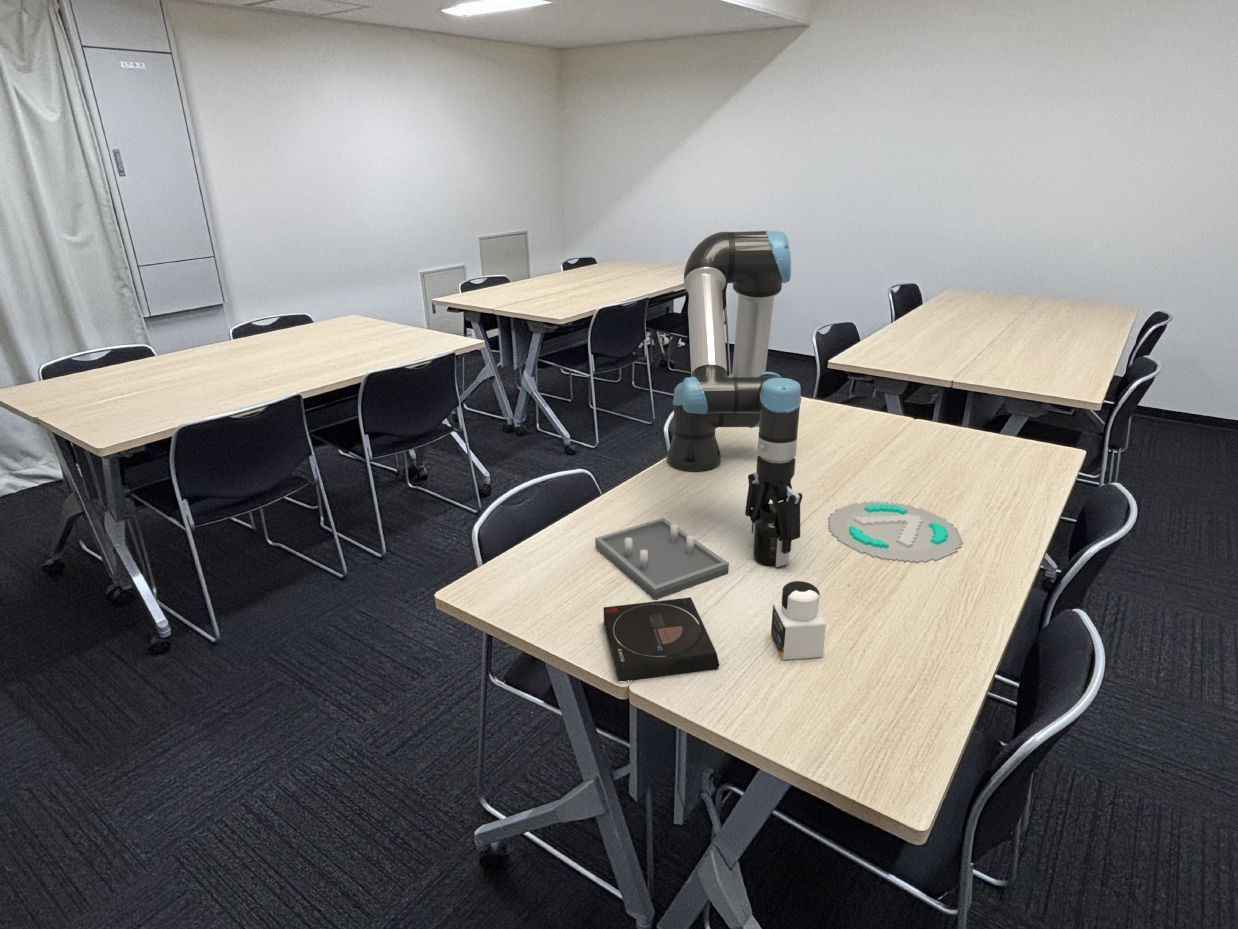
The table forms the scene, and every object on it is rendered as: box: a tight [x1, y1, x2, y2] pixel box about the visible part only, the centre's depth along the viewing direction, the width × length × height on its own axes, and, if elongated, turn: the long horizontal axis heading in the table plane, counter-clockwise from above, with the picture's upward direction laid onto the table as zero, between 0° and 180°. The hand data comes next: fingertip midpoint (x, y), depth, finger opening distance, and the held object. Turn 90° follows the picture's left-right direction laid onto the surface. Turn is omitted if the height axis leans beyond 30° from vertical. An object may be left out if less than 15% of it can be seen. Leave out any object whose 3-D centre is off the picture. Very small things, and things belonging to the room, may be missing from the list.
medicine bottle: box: [770, 580, 827, 661], centre depth 121 cm, size 7×7×12 cm
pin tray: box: [594, 517, 730, 601], centre depth 150 cm, size 24×18×6 cm
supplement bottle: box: [753, 503, 787, 567], centre depth 148 cm, size 7×7×12 cm
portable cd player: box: [602, 596, 721, 682], centre depth 124 cm, size 16×17×4 cm
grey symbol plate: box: [827, 500, 964, 564], centre depth 161 cm, size 28×28×2 cm
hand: (769, 556), depth 151 cm, fingers closed on supplement bottle, 7 cm apart
